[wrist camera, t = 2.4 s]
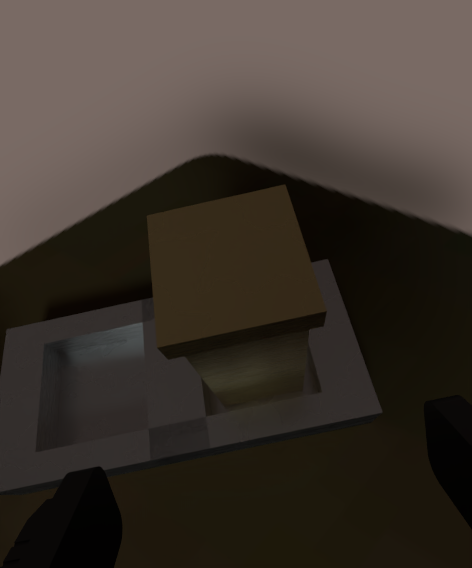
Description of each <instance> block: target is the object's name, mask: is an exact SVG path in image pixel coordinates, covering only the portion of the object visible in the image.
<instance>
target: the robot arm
mask: <svg viewBox="0 0 472 568" xmlns="http://www.w3.org/2000/svg"><path fill="white" fill-rule="evenodd" d="M424 416H425V427H426V438H427V449H428V457H429V461H430V464H431V467H432V470H433V472H434V474H435V476H436V478H437V480H438V482H439V483H440V485H441V486H442V488H443V489H444V490H445V492H446V493H447V495H448V496H449V497H450V499H451V500H452V502H453V503H454V505H455V506H456V507H457V509H458V510H459V512H460V513H461V515H462V516H463V517H464V519H465V520H466V522H467V523H468V525H469V526H470V527H471V529H472V406H471V405H470V404H469V403H468V402H467V401H466V400H465V399H464V398H463V397H461V396H459V395H455V396H450V397H445V398H440V399H435V400H430V401H426V402H425V404H424ZM121 539H122V518H121V514H120V511H119V508H118V506H117V503H116V500H115V498H114V495H113V492H112V490H111V487H110V484H109V482H108V479H107V476H106V474H105V471H104V470H103V468H102V467H100V466H97V467H92V468H87V469H82V470H77V471H73V472H69V473H67V474H66V475H65V477H64V478H63V480H62V482H61V484H60V486H59V488H58V490H57V491H56V493H55V495H54V497H53V498H52V499H47V500H46V501H45V502H44V503H43V504H42V505H41V506H40V507H39V508H38V509H37V510H36V512H35V513H34V514H33V515H32V516H31V517H30V518H29V519H28V520H27V522H26V523H25V525H24V527H23V529H22V530H21V532H20V534H19V536H18V537H17V539H16V541H15V542H14V543H15V545H14V547H12V548H11V549H10V551H9V553H8V555H7V556H6V558H5V560H4V561H3V567H0V568H114V565H115V562H116V558H117V555H118V551H119V548H120V544H121Z"/></svg>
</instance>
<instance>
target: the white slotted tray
mask: <svg viewBox="0 0 472 568" xmlns="http://www.w3.org/2000/svg"><path fill="white" fill-rule="evenodd" d="M311 264H312V267H313V270H314V273H315V276H316V279H317V282H318V285H319V289H320V292H321V295H322V298H323V301H324V304H325V307H326V310H327V313H326V318H325V324H324V327H319V328H314V329H310V330H309V338H308V347H307V357H306V366H305V376H304V386H303V390H300V391H295V392H290V393H286V394H281V395H276V396H271V397H267V398H262V399H257V400H252V401H248V402H243V403H238V404H233V405H229V406H224V405H223V404H222V403H221V401H220V400H219V399H218V398H217V396H216V395H215V394H214V393H213V391H212V390H211V389H210V388H209V386H208V385H207V384H206V383H205V381H204V380H203V379H202V378H201V376H200V375H199V374H198V373H197V371H196V370H195V369H194V368H193V366H192V365H191V364H190V363H189V361H188V360H187V359H186V358H185V356H184V357H179V358H175V359H170V360H168V359H167V358H166V357H165V356H164V355H163V354H162V353H161V352H160V351H159V349H158V348H157V342H156V329H155V316H154V302H153V297H152V298H148V299H143V300H139V301H134V302H130V303H125V304H120V305H116V306H111V307H107V308H102V309H98V310H93V311H89V312H84V313H79V314H75V315H70V316H66V317H61V318H57V319H52V320H48V321H43V322H39V323H34V324H29V325H25V326H20V327H16V328H11V329H7V331H6V338H5V346H4V353H3V360H2V368H1V375H0V495H22V494H27V493H32V492H37V491H42V490H47V489H52V488H56V487H59V486H60V484H61V482H62V480H63V478H64V477H65V475H66V474H67V473H69V472H73V471H77V470H82V469H87V468H92V467H97V466H100V467H102V468H103V470H104V471H105V474H106V476H107V477H110V476H114V475H119V474H124V473H129V472H134V471H139V470H143V469H148V468H153V467H158V466H163V465H168V464H172V463H177V462H182V461H187V460H192V459H197V458H202V457H206V456H211V455H216V454H221V453H226V452H231V451H235V450H240V449H245V448H250V447H255V446H260V445H264V444H269V443H274V442H279V441H284V440H289V439H293V438H298V437H303V436H308V435H313V434H318V433H322V432H327V431H332V430H337V429H342V428H347V427H351V426H356V425H361V424H366V423H371V422H372V421H373V420H375V419H376V418H377V417H378V416H379V415H380V414H381V413H382V410H381V407H380V404H379V401H378V399H377V396H376V393H375V390H374V387H373V385H372V382H371V379H370V376H369V373H368V370H367V368H366V365H365V362H364V359H363V356H362V354H361V351H360V348H359V345H358V342H357V340H356V337H355V334H354V331H353V328H352V325H351V323H350V320H349V317H348V314H347V311H346V309H345V306H344V303H343V300H342V297H341V295H340V292H339V289H338V286H337V283H336V281H335V278H334V275H333V272H332V269H331V266H330V264H329V261H328V259H325V260H321V261H316V262H312V263H311Z"/></svg>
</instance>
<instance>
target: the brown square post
mask: <svg viewBox="0 0 472 568" xmlns="http://www.w3.org/2000/svg"><path fill="white" fill-rule="evenodd" d="M147 223H148V236H149V249H150V262H151V276H152V289H153V302H154V316H155V329H156V342H157V348H158V349H159V351H160V352H161V353H162V354H163V355H164V356H165V357H166V358H167V359H168V360H170V359H175V358H179V357H184V356H185V358H186V359H187V360H188V361H189V363H190V364H191V365H192V366H193V368H194V369H195V370H196V371H197V373H198V374H199V375H200V376H201V378H202V379H203V380H204V381H205V383H206V384H207V385H208V386H209V388H210V389H211V390H212V391H213V393H214V394H215V395H216V396H217V398H218V399H219V400H220V401H221V403H222V404H223V405H224V406H229V405H233V404H238V403H243V402H248V401H252V400H257V399H262V398H267V397H271V396H276V395H281V394H286V393H290V392H295V391H300V390H303V386H304V376H305V366H306V357H307V347H308V338H309V330H310V329H314V328H319V327H324V324H325V318H326V313H327V310H326V307H325V304H324V301H323V298H322V295H321V292H320V289H319V285H318V282H317V279H316V276H315V273H314V270H313V267H312V264H311V261H310V258H309V255H308V252H307V249H306V246H305V243H304V240H303V237H302V234H301V231H300V227H299V224H298V221H297V218H296V215H295V212H294V209H293V206H292V203H291V200H290V197H289V194H288V191H287V188H286V185H280V186H276V187H271V188H267V189H263V190H258V191H254V192H249V193H245V194H240V195H236V196H232V197H227V198H223V199H218V200H214V201H209V202H205V203H201V204H196V205H192V206H187V207H183V208H179V209H174V210H170V211H165V212H161V213H156V214H152V215H148V216H147Z"/></svg>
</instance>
